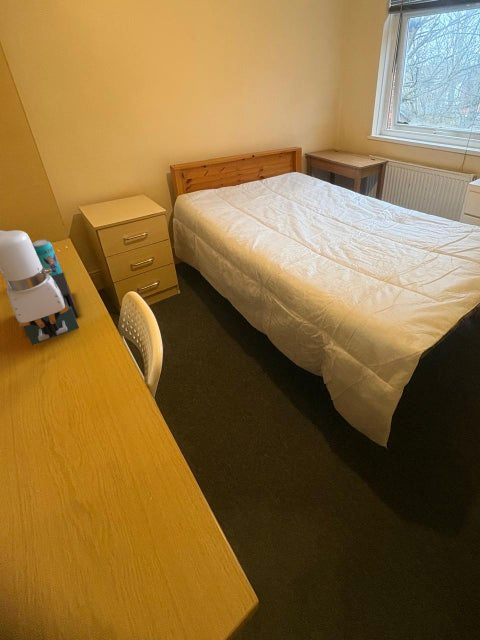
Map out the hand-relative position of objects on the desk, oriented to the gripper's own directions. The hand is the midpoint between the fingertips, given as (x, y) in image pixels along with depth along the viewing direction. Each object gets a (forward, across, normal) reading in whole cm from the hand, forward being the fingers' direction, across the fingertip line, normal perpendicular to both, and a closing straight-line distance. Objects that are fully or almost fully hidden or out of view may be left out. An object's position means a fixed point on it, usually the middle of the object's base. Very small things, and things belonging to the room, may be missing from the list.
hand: (53, 333), depth 88 cm
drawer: (+5, 0, -10) cm, 11 cm away
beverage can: (+6, -2, -45) cm, 45 cm away
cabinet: (+6, 0, -20) cm, 21 cm away
